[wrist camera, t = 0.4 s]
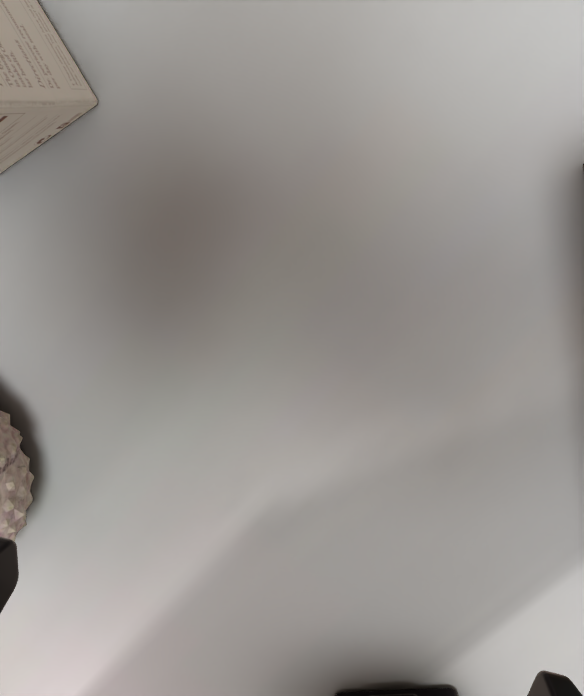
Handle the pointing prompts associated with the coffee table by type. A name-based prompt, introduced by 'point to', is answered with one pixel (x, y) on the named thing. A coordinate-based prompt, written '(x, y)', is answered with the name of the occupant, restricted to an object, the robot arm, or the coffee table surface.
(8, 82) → the supplement box
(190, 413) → the coffee table surface
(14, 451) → the sea urchin shell
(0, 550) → the robot arm
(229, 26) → the coffee table surface
